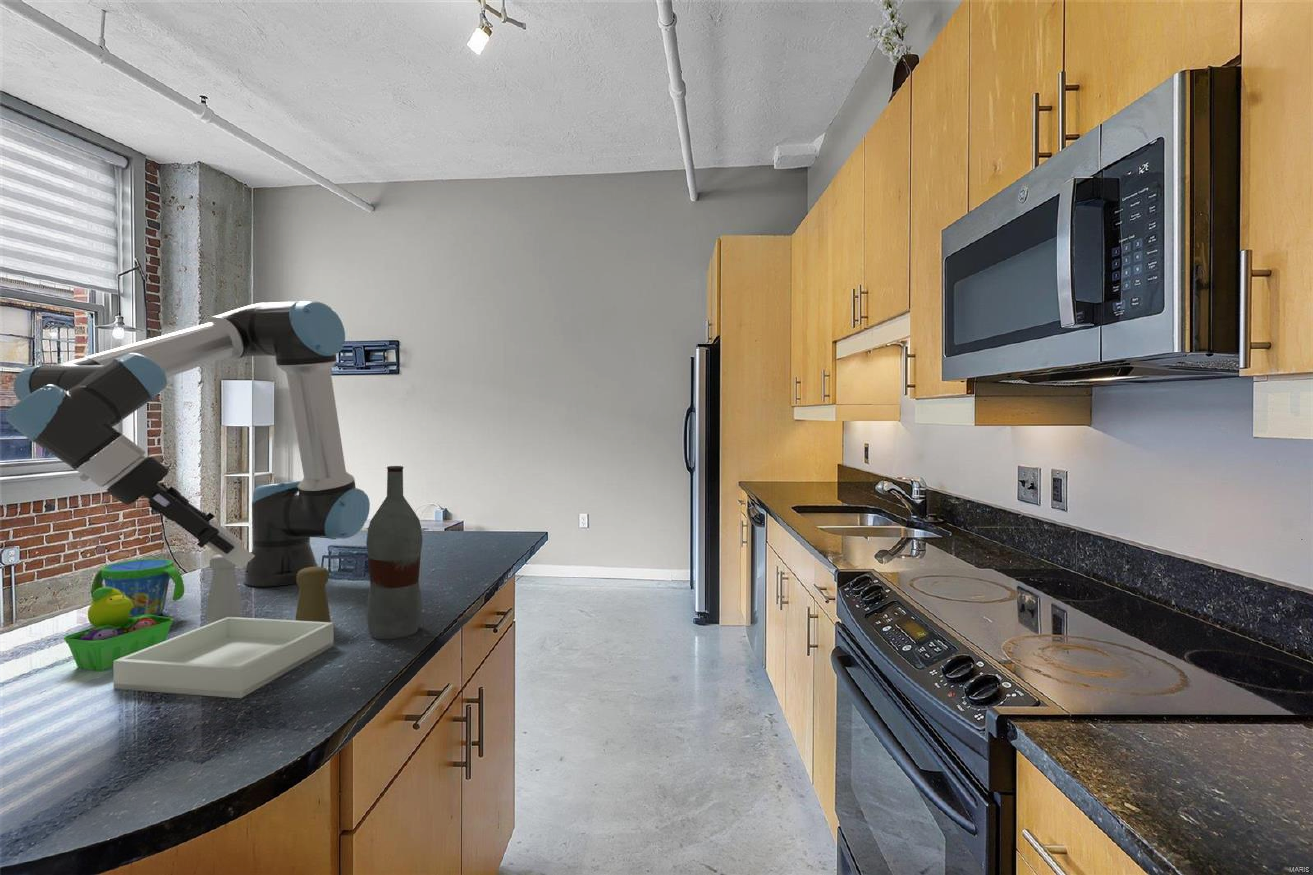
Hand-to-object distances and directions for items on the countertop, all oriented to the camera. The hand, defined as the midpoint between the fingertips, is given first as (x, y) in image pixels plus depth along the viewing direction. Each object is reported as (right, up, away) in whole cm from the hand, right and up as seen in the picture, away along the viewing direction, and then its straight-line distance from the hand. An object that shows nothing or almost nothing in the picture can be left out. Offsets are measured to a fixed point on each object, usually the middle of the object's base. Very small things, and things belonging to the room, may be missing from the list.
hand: (242, 555), depth 104 cm
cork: (+8, -15, +7) cm, 18 cm away
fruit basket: (-14, -15, -8) cm, 22 cm away
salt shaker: (-9, -15, +8) cm, 19 cm away
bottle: (+24, -15, +5) cm, 29 cm away
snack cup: (-28, -14, +11) cm, 33 cm away
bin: (+6, -15, -11) cm, 19 cm away
